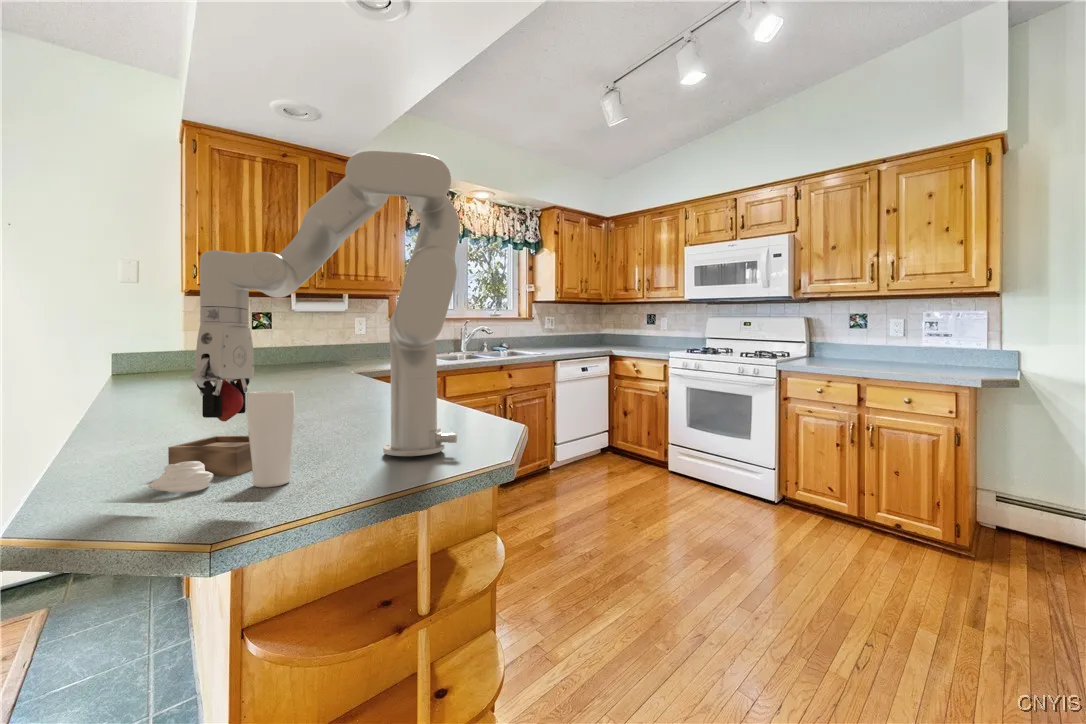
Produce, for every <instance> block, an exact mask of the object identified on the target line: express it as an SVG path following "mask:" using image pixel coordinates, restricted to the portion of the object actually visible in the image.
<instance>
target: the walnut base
mask: <svg viewBox="0 0 1086 724" xmlns="http://www.w3.org/2000/svg"><path fill="white" fill-rule="evenodd" d="M167 450H168V452H167V453H168V454H167V456H168V459H167V460H168V465H170V464H177V463H181V462H188V461H200V462H201V463H203V464H204V465H205V471H208V472H210V473H213V475H214V477H215V476H220V477H221V476H223V477H224V476H225V477H226V476H240V475H242V474H245V473H248V472H251V471H252V462H251V452H250V443H249V435H214V436H210V437H206V438H200V439H197V440H193V441H190V442H189V441H188V442H185V443H181V444H176V445H172V446H168V449H167Z"/></svg>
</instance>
